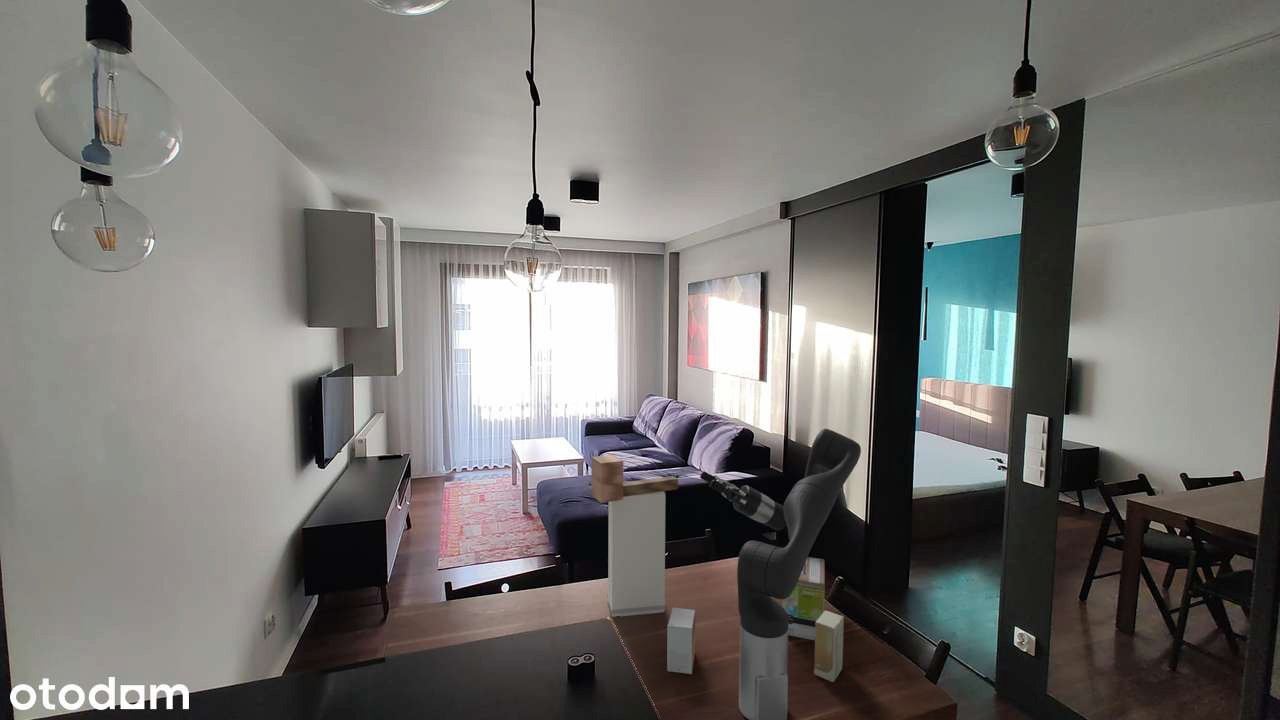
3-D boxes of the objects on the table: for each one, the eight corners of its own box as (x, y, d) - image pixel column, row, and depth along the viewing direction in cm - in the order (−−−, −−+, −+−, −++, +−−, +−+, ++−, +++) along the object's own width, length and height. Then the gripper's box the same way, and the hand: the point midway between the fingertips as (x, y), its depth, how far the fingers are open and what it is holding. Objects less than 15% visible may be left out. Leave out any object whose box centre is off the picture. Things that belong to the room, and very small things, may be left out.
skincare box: (823, 660, 120) (825, 608, 119) (843, 668, 117) (844, 615, 116) (812, 675, 115) (814, 621, 114) (832, 683, 112) (834, 628, 111)
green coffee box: (823, 643, 127) (825, 583, 126) (780, 635, 130) (781, 576, 129) (823, 611, 141) (824, 557, 140) (784, 604, 144) (785, 552, 143)
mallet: (669, 484, 147) (669, 448, 146) (681, 491, 140) (682, 454, 140) (591, 494, 137) (591, 456, 136) (601, 502, 131) (601, 463, 130)
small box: (691, 675, 115) (692, 628, 114) (666, 671, 116) (666, 625, 115) (695, 653, 122) (696, 609, 122) (671, 650, 124) (672, 606, 123)
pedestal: (658, 596, 148) (659, 484, 146) (665, 612, 140) (666, 494, 138) (607, 601, 145) (607, 487, 143) (611, 617, 137) (611, 497, 135)
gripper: (750, 485, 154) (704, 460, 151) (771, 500, 140) (721, 473, 137) (738, 507, 154) (692, 482, 151) (757, 525, 140) (707, 498, 137)
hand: (706, 478), depth 144 cm, fingers open, 8 cm apart
